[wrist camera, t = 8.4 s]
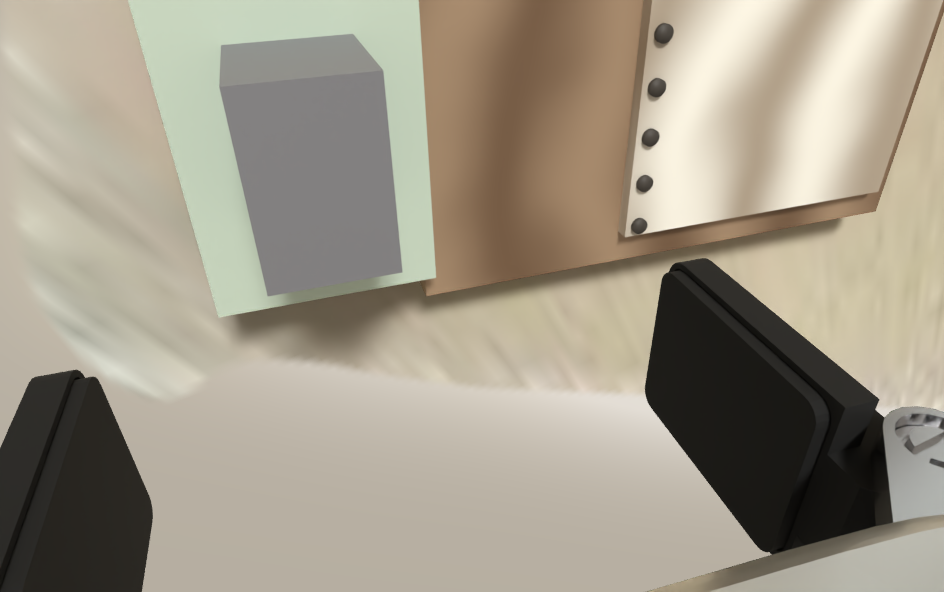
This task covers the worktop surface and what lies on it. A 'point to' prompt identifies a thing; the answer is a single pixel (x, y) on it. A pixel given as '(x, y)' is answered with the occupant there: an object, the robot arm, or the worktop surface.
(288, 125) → the stub
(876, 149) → the ticket board
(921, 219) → the worktop surface
